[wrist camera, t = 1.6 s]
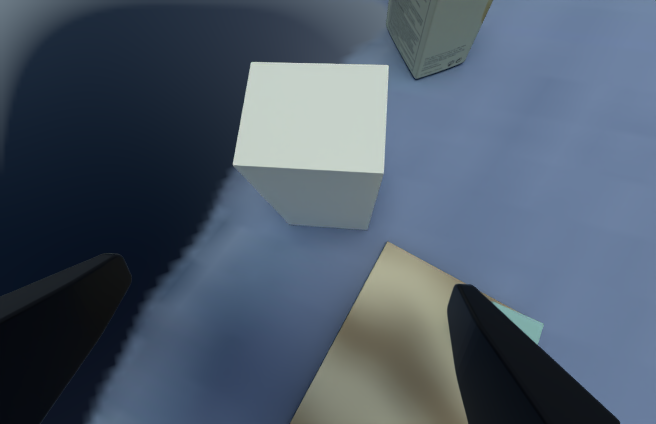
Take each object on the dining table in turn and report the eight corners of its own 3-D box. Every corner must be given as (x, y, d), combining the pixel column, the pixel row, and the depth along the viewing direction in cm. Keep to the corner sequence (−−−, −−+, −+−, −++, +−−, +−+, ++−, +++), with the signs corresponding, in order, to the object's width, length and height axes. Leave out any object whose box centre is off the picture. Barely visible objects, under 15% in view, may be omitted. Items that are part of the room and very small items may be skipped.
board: (433, 561, 16) (436, 571, 15) (277, 446, 18) (275, 451, 17) (532, 321, 18) (537, 322, 18) (386, 242, 20) (387, 241, 20)
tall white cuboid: (367, 230, 21) (383, 173, 10) (289, 224, 21) (232, 165, 11) (370, 169, 22) (388, 64, 12) (296, 165, 22) (251, 62, 12)
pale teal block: (490, 355, 18) (529, 373, 14) (450, 336, 18) (477, 349, 14) (502, 316, 18) (543, 324, 14) (463, 298, 18) (493, 301, 15)
